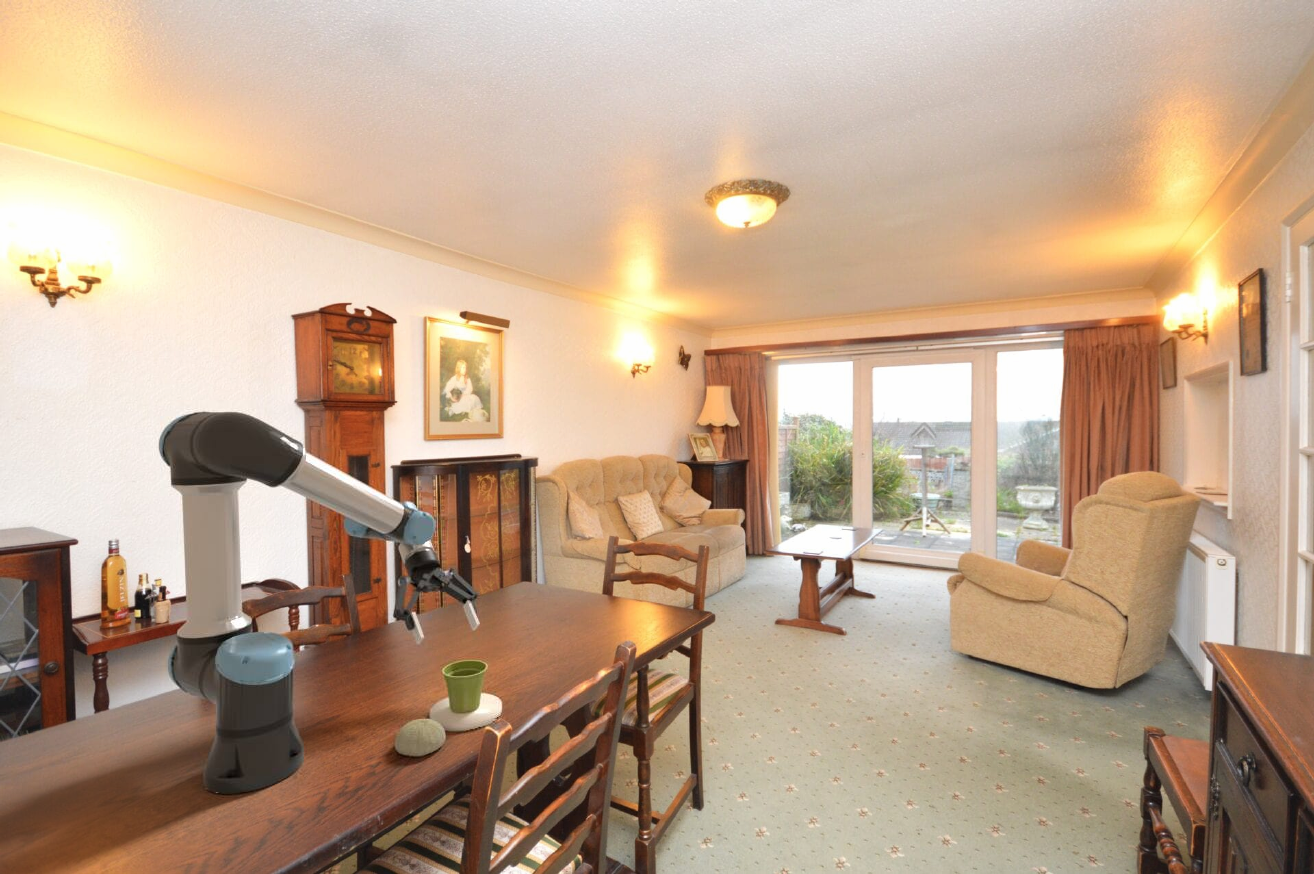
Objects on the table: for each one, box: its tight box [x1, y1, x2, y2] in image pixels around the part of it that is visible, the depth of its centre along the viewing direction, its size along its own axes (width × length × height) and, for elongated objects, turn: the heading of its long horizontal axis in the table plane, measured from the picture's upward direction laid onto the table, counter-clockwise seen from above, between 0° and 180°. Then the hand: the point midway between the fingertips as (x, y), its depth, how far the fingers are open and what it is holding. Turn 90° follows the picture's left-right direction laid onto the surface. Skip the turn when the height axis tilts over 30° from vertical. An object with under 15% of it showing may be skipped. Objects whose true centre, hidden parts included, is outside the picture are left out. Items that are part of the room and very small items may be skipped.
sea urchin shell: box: [394, 718, 447, 757], centre depth 119 cm, size 9×8×8 cm
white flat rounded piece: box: [429, 692, 503, 732], centre depth 132 cm, size 15×15×2 cm
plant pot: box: [441, 659, 488, 713], centre depth 132 cm, size 9×9×9 cm
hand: (449, 634), depth 138 cm, fingers open, 13 cm apart
